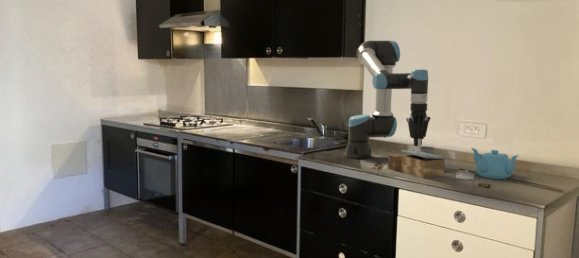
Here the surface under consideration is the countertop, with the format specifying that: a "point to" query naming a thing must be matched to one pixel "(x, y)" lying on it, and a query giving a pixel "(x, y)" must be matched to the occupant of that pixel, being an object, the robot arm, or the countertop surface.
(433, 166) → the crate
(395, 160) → the block
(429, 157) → the lid
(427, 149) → the cup
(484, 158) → the teapot
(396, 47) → the robot arm
